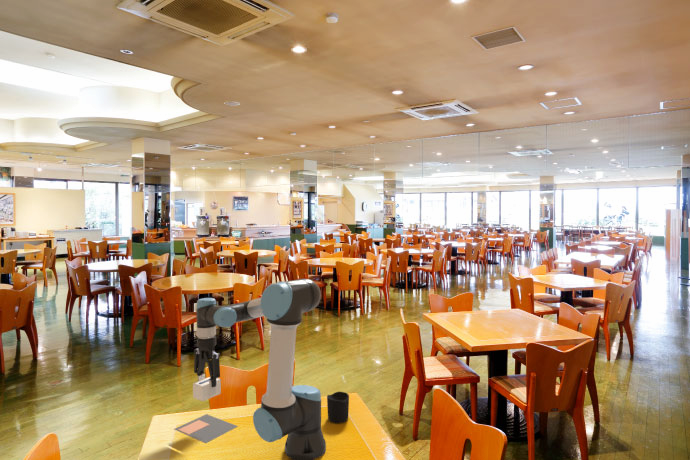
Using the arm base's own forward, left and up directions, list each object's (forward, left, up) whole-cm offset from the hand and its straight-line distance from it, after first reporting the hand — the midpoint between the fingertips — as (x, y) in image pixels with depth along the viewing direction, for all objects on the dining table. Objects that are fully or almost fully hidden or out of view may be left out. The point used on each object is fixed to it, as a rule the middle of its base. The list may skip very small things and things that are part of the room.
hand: (207, 392), depth 172 cm
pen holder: (-40, -37, -15) cm, 56 cm away
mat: (0, 0, -15) cm, 15 cm away
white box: (0, 0, -1) cm, 1 cm away
